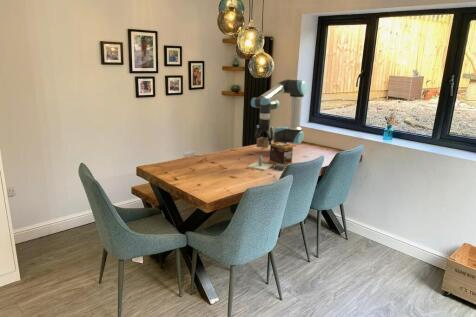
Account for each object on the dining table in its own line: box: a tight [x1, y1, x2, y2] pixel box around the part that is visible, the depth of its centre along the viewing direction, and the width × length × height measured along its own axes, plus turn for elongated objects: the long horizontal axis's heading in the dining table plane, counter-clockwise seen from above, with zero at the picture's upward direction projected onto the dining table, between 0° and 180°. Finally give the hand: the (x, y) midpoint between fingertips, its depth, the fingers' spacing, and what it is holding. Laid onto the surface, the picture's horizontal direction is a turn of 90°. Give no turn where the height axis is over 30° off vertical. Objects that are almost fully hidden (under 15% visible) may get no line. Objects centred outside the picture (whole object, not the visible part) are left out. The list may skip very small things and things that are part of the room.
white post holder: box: [247, 155, 273, 172], centre depth 281 cm, size 14×14×9 cm
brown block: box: [255, 136, 269, 149], centre depth 277 cm, size 8×8×6 cm
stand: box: [273, 163, 287, 172], centre depth 279 cm, size 7×7×3 cm
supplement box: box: [269, 142, 294, 166], centre depth 293 cm, size 10×15×16 cm
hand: (263, 148), depth 278 cm, fingers closed on brown block, 8 cm apart
